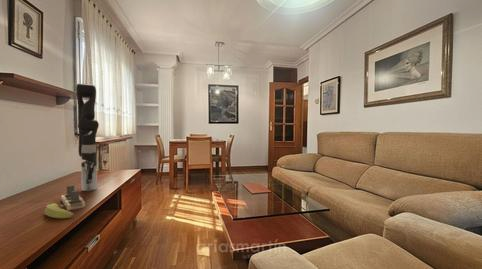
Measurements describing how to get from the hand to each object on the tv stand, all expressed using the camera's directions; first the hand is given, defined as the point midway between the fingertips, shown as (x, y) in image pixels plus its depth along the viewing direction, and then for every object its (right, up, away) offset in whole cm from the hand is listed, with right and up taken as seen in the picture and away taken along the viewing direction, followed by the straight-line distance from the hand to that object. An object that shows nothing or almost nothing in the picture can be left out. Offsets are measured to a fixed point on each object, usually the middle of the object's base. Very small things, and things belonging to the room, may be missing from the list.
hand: (89, 178), depth 137 cm
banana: (-1, -15, -20) cm, 25 cm away
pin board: (-5, -13, -6) cm, 16 cm away
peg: (0, -3, 0) cm, 3 cm away
